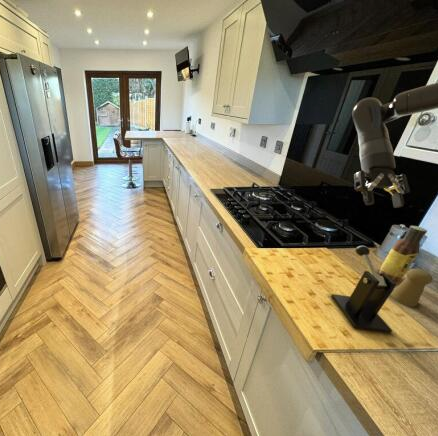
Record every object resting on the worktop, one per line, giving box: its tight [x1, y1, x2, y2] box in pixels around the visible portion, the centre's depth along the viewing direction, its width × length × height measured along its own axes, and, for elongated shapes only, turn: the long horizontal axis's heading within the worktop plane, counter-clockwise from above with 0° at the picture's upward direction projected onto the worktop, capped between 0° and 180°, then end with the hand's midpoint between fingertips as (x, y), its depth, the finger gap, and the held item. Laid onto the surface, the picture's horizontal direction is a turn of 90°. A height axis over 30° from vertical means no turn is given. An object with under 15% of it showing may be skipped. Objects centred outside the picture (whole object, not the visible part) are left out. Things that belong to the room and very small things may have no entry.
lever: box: [354, 245, 387, 289], centre depth 67 cm, size 13×3×3 cm, turn 170°
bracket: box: [330, 270, 398, 335], centre depth 66 cm, size 12×9×14 cm
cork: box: [390, 268, 434, 307], centre depth 73 cm, size 6×6×11 cm
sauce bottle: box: [378, 225, 428, 282], centre depth 82 cm, size 7×6×20 cm
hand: (384, 205), depth 70 cm, fingers open, 8 cm apart
